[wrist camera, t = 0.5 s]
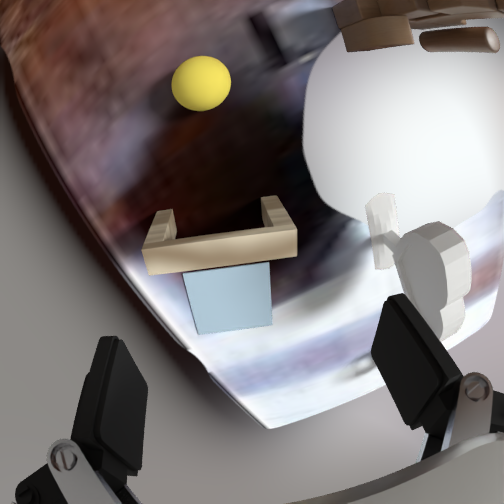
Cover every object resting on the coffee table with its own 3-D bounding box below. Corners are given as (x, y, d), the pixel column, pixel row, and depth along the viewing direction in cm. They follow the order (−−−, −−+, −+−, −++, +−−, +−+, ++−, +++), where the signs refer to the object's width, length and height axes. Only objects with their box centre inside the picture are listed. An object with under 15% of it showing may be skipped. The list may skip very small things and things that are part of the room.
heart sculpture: (362, 193, 38) (444, 263, 22) (392, 182, 37) (480, 243, 22) (376, 278, 46) (433, 358, 30) (401, 266, 45) (462, 340, 30)
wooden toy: (345, 54, 28) (521, 41, 7) (331, 7, 25) (486, -59, 3) (436, 52, 28) (588, 71, 6) (425, 10, 24) (573, 4, 3)
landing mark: (182, 273, 40) (182, 274, 40) (268, 261, 41) (269, 262, 41) (198, 333, 46) (198, 334, 46) (272, 324, 47) (272, 324, 47)
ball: (172, 64, 27) (164, 57, 22) (226, 56, 27) (229, 48, 22) (178, 113, 30) (171, 117, 25) (231, 106, 30) (235, 108, 25)
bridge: (157, 211, 35) (141, 249, 27) (276, 195, 36) (296, 229, 28) (161, 232, 37) (149, 275, 29) (277, 217, 38) (297, 256, 30)
